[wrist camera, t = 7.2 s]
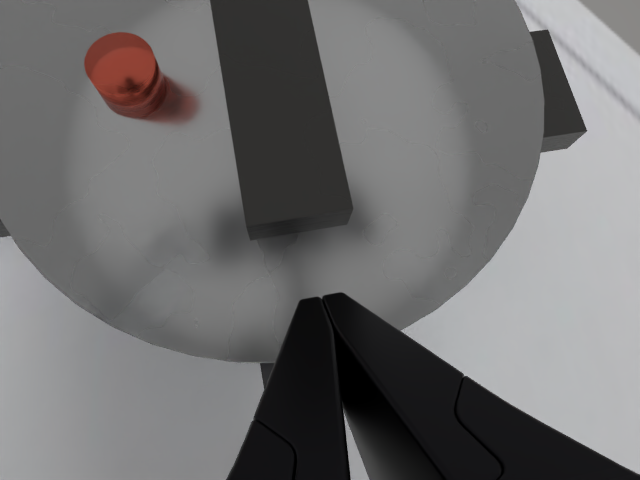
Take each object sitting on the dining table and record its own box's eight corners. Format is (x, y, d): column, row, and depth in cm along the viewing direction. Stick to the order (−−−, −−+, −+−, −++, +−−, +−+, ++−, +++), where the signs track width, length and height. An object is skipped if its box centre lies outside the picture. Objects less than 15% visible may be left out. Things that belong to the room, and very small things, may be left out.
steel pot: (539, 337, 21) (680, 307, 13) (54, 435, 19) (-105, 465, 11) (447, 46, 25) (515, -103, 18) (41, 98, 23) (-82, -47, 15)
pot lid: (597, 303, 13) (657, 290, 11) (2, 420, 11) (-64, 431, 9) (452, -130, 17) (477, -204, 15) (-13, -90, 15) (-62, -166, 13)
